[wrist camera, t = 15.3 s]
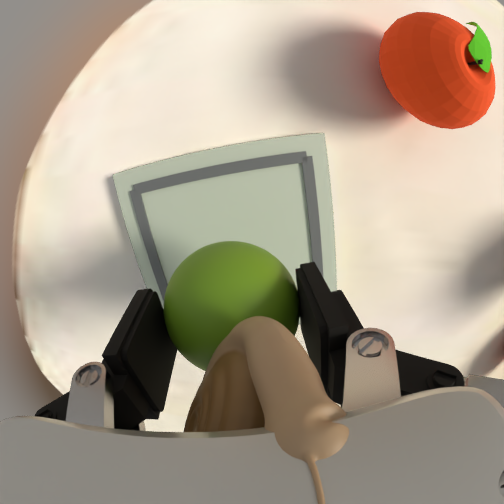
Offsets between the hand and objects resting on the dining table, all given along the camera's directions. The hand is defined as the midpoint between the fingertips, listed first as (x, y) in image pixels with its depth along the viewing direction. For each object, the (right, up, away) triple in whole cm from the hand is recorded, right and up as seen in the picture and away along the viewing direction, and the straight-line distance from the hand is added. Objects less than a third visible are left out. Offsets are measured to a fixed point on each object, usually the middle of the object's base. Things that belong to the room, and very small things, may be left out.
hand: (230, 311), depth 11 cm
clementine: (+11, +14, +2) cm, 18 cm away
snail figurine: (0, +2, +3) cm, 3 cm away
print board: (0, +3, +6) cm, 7 cm away
